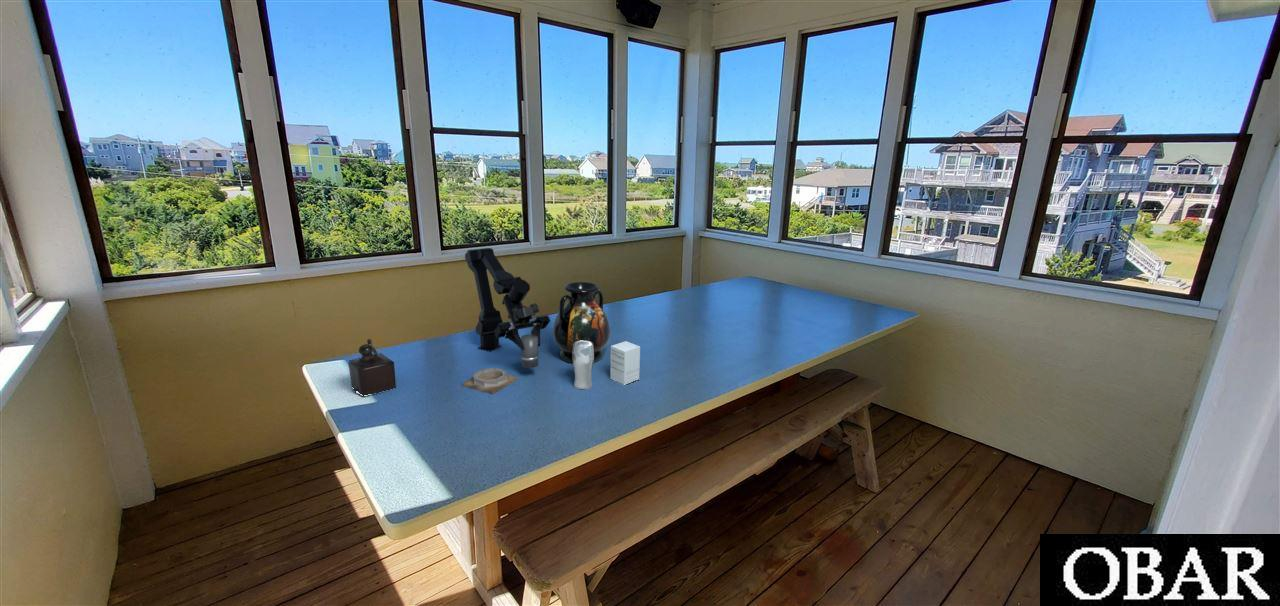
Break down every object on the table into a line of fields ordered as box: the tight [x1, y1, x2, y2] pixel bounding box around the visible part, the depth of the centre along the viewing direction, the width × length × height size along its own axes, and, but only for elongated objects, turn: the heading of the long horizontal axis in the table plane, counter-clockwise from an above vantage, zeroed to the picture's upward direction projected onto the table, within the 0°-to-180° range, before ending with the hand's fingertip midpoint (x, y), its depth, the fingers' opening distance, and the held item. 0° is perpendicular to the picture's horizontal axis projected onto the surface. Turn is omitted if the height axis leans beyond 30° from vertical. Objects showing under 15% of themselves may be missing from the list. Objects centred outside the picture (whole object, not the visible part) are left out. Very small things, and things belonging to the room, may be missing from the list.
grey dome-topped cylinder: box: [520, 333, 539, 369], centre depth 174 cm, size 6×6×10 cm
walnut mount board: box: [462, 367, 518, 395], centre depth 170 cm, size 12×12×3 cm
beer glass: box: [572, 340, 594, 390], centre depth 169 cm, size 7×7×15 cm
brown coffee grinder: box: [348, 338, 397, 396], centre depth 160 cm, size 16×11×18 cm
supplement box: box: [609, 340, 641, 386], centre depth 175 cm, size 7×7×13 cm
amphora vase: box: [552, 281, 611, 364], centre depth 192 cm, size 22×22×28 cm
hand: (531, 347), depth 173 cm, fingers closed on grey dome-topped cylinder, 6 cm apart
